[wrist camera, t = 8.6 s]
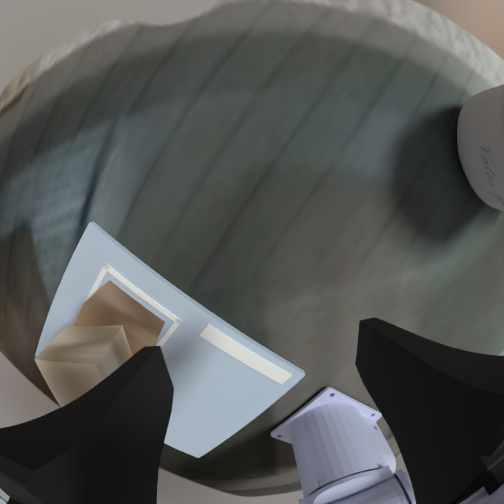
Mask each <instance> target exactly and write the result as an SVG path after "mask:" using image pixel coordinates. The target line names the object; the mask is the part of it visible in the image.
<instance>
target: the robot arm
mask: <svg viewBox="0 0 504 504" xmlns="http://www.w3.org/2000/svg"><path fill="white" fill-rule="evenodd" d="M356 367H357V369H358V372H359V374H360V377H361V379H362V381H363V384H364V386H365V387H366V389H367V391H368V392H369V394H370V396H371V397H372V399H373V401H374V402H375V404H376V406H377V407H378V409H379V411H380V412H381V413H380V412H378V411H376V410H374V409H372V408H370V407H368V406H366V405H364V404H362V403H360V402H358V401H356V400H354V399H352V398H350V397H348V396H347V395H345V394H343V393H341V392H339V391H337V390H335V389H333V388H331V387H327V388H325V389H323V390H322V391H321V392H320V393H319V394H318V395H317V396H315V397H314V398H313V399H312V400H311V401H310V402H308V403H307V404H306V405H305V406H303V407H302V408H301V409H300V410H299V411H297V412H296V413H295V414H294V415H292V416H291V417H290V418H288V419H287V420H286V421H285V422H283V423H282V424H281V425H279V426H278V427H277V428H275V429H274V430H273V431H271V437H273V438H276V439H279V440H282V441H284V442H287V443H290V444H292V446H293V451H294V455H295V459H296V464H297V468H298V473H299V477H300V482H301V486H302V491H303V495H304V498H303V499H300V500H299V504H504V356H495V355H487V354H479V353H474V352H469V351H464V350H460V349H456V348H452V347H449V346H446V345H443V344H440V343H437V342H434V341H431V340H429V339H426V338H423V337H421V336H418V335H416V334H414V333H411V332H409V331H406V330H404V329H402V328H400V327H397V326H395V325H393V324H390V323H388V322H385V321H383V320H380V319H377V318H370V319H365V320H361V321H360V323H359V336H358V346H357V356H356ZM332 393H333V394H332ZM173 395H174V386H173V383H172V380H171V378H170V375H169V372H168V369H167V366H166V363H165V360H164V356H163V353H162V350H161V347H160V346H145V347H143V348H142V349H140V350H139V351H138V352H137V353H135V354H134V355H133V356H132V357H131V358H129V359H128V360H127V361H126V362H125V363H123V364H122V365H121V366H120V367H119V368H117V369H116V370H115V371H114V372H113V373H111V374H110V375H109V376H108V377H106V378H105V379H104V380H102V381H101V382H100V383H98V384H97V385H96V386H94V387H93V388H92V389H90V390H89V391H88V392H86V393H85V394H83V395H82V396H80V397H79V398H77V399H75V400H74V401H72V402H70V403H68V404H67V405H65V406H63V407H61V408H59V409H57V410H55V411H53V412H50V413H48V414H46V415H44V416H42V417H39V418H36V419H34V420H31V421H28V422H25V423H21V424H18V425H14V426H11V427H5V428H0V488H1V489H2V490H3V491H4V492H5V493H6V494H7V495H9V496H10V498H9V501H8V502H7V501H6V500H5V499H3V498H2V497H0V504H156V502H157V499H156V498H157V482H158V470H159V463H160V457H161V453H162V449H163V445H164V441H165V437H166V433H167V429H168V425H169V421H170V416H171V412H172V405H173ZM381 414H382V415H383V417H384V419H385V420H386V422H387V424H388V425H389V427H390V429H391V431H392V433H393V435H394V437H395V440H396V442H397V444H398V447H399V449H400V452H401V454H402V457H403V460H404V462H405V465H406V468H407V471H408V472H406V471H403V470H398V471H396V472H395V468H396V461H395V457H394V455H393V453H392V451H391V449H390V447H389V445H388V443H387V442H386V440H385V438H384V436H383V434H382V432H381V430H380V429H379V427H378V425H377V423H376V421H377V420H378V419H379V418H380V417H381V416H382V415H381Z"/></svg>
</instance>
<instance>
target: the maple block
mask: <svg viewBox="0 0 504 504" xmlns="http://www.w3.org/2000/svg"><path fill="white" fill-rule="evenodd" d="M132 356H133V355H132V352H131V349H130V346H129V343H128V341H127V338H126V335H125V332H124V329H123V325H112V326H66V327H65V328H64V329H63V330H62V331H61V332H60V333H59V334H58V335H57V336H56V337H55V338H54V339H53V340H52V341H51V342H50V343H49V344H48V345H47V346H46V347H45V348H44V349H43V350H42V351H41V352H40V353H39V354H38V356H37V357H36V358H35V361H36V364H37V366H38V368H39V370H40V371H41V373H42V375H43V377H44V379H45V381H46V383H47V385H48V386H49V388H50V390H51V392H52V393H53V395H54V397H55V399H56V400H57V402H58V403H59V405H60V407H63V406H65V405H67V404H68V403H70V402H72V401H74V400H75V399H77V398H79V397H80V396H82V395H83V394H85V393H86V392H88V391H89V390H90V389H92V388H93V387H94V386H96V385H97V384H98V383H100V382H101V381H102V380H104V379H105V378H106V377H108V376H109V375H110V374H111V373H113V372H114V371H115V370H116V369H117V368H119V367H120V366H121V365H122V364H123V363H125V362H126V361H127V360H128V359H129V358H131V357H132Z"/></svg>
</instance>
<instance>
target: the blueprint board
mask: <svg viewBox="0 0 504 504" xmlns="http://www.w3.org/2000/svg"><path fill="white" fill-rule="evenodd" d="M109 280H110V281H112V282H113V283H114V284H115V285H117V286H118V287H119V288H120V289H122V290H123V291H124V292H125V293H127V294H128V295H129V296H131V297H132V298H133V299H135V300H136V301H137V302H139V303H140V304H141V305H143V306H144V307H145V308H147V309H148V310H149V311H151V312H152V313H154V314H155V315H156V316H158V317H159V318H161V319H162V320H163V321H165V324H164V326H163V328H162V330H161V333H160V335H159V337H158V339H157V342H156V344H155V346H160V347H161V350H162V353H163V356H164V360H165V363H166V366H167V369H168V372H169V375H170V378H171V380H172V383H173V386H174V395H173V405H172V412H171V416H170V421H169V425H168V429H167V433H166V437H165V441H164V443H165V444H167V445H169V446H172V447H174V448H176V449H178V450H181V451H183V452H185V453H187V454H190V455H192V456H195V457H197V458H200V457H201V456H203V455H204V454H206V453H207V452H209V451H210V450H212V449H213V448H215V447H216V446H218V445H219V444H221V443H222V442H223V441H225V440H226V439H228V438H229V437H230V436H232V435H233V434H235V433H236V432H237V431H239V430H240V429H241V428H243V427H244V426H245V425H247V424H248V423H249V422H251V421H252V420H253V419H254V418H256V417H257V416H258V415H259V414H261V413H262V412H263V411H264V410H266V409H267V408H268V407H269V406H271V405H272V404H273V403H274V402H275V401H277V400H278V399H279V398H280V397H281V396H282V395H284V394H285V393H286V392H287V391H288V390H289V389H290V388H292V387H293V386H294V385H295V384H296V383H297V382H298V381H299V380H300V379H302V378H303V377H304V376H305V373H304V370H302V369H300V368H298V367H297V366H295V365H293V364H292V363H290V362H288V361H287V360H285V359H283V358H282V357H280V356H278V355H277V354H275V353H273V352H272V351H270V350H268V349H267V348H265V347H264V346H262V345H260V344H259V343H257V342H256V341H254V340H253V339H251V338H249V337H248V336H246V335H245V334H243V333H242V332H240V331H239V330H237V329H236V328H234V327H233V326H231V325H230V324H228V323H227V322H225V321H224V320H222V319H221V318H219V317H218V316H216V315H215V314H213V313H212V312H210V311H209V310H207V309H206V308H205V307H203V306H202V305H200V304H199V303H197V302H196V301H195V300H193V299H192V298H190V297H189V296H188V295H186V294H185V293H183V292H182V291H181V290H179V289H178V288H177V287H175V286H174V285H173V284H171V283H170V282H168V281H167V280H166V279H164V278H163V277H162V276H160V275H159V274H158V273H156V272H155V271H154V270H153V269H151V268H150V267H149V266H147V265H146V264H145V263H143V262H142V261H141V260H140V259H138V258H137V257H136V256H135V255H133V254H132V253H131V252H130V251H128V250H127V249H126V248H125V247H123V246H122V245H121V244H120V243H118V242H117V241H116V240H115V239H114V238H112V237H111V236H110V235H109V234H108V233H106V232H105V231H104V230H103V229H102V228H100V227H99V226H98V225H97V224H96V223H95V222H90V223H89V224H88V226H87V228H86V230H85V232H84V234H83V236H82V238H81V240H80V242H79V244H78V246H77V248H76V250H75V252H74V254H73V256H72V258H71V260H70V262H69V265H68V267H67V269H66V271H65V274H64V276H63V278H62V281H61V283H60V285H59V288H58V290H57V293H56V295H55V298H54V300H53V303H52V306H51V308H50V311H49V314H48V316H47V319H46V322H45V325H44V328H43V331H42V334H41V338H40V341H39V344H38V347H37V351H36V354H35V357H37V356H38V354H39V353H40V352H41V351H42V350H43V349H44V348H45V347H46V346H47V345H48V344H49V343H50V342H51V341H52V340H53V339H54V338H55V337H56V336H57V335H58V334H59V333H60V332H61V331H62V330H63V329H64V328H65V327H66V326H73V325H74V323H75V321H76V319H77V317H78V315H79V313H80V310H81V308H82V306H83V304H84V302H86V301H87V300H88V299H89V298H90V297H91V296H92V295H93V294H94V293H96V292H97V291H98V290H99V289H100V288H101V287H102V286H104V285H105V284H106V283H107V282H108V281H109Z"/></svg>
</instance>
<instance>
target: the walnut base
mask: <svg viewBox="0 0 504 504" xmlns="http://www.w3.org/2000/svg"><path fill="white" fill-rule="evenodd" d="M164 324H165V321H163V320H162V319H161V318H159V317H158V316H156V315H155V314H154V313H152V312H151V311H149V310H148V309H147V308H145V307H144V306H143V305H141V304H140V303H139V302H137V301H136V300H135V299H133V298H132V297H131V296H129V295H128V294H127V293H125V292H124V291H123V290H122V289H120V288H119V287H118V286H117V285H115V284H114V283H113V282H112V281H110V280H109V281H108V282H107V283H106V284H105V285H104V286H102V287H101V288H100V289H99V290H98V291H97V292H96V293H94V294H93V295H92V296H91V297H90V298H89V299H88V300H87V301H86V302H84V304H83V306H82V308H81V310H80V313H79V315H78V317H77V319H76V321H75V323H74V325H73V326H112V325H123V329H124V332H125V335H126V338H127V341H128V343H129V346H130V349H131V352H132V355H134V354H135V353H137V352H138V351H139V350H140V349H142V348H143V347H145V346H155V344H156V342H157V339H158V337H159V335H160V333H161V330H162V328H163V326H164Z"/></svg>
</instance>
